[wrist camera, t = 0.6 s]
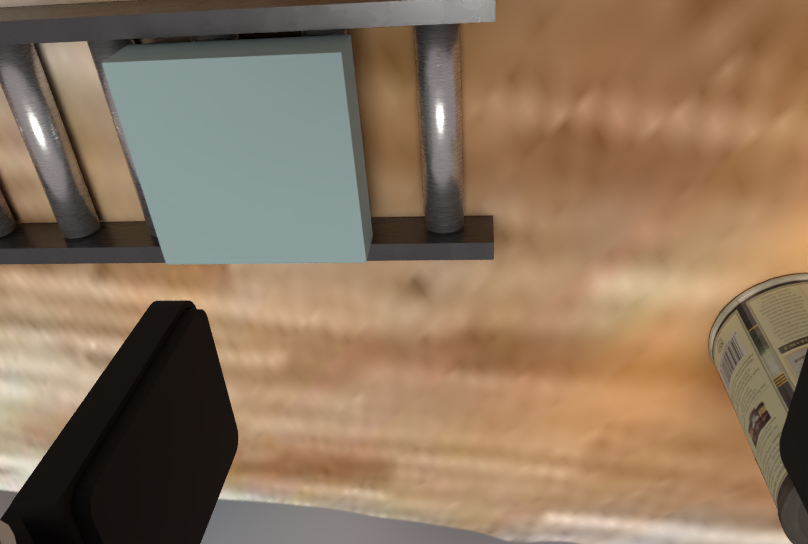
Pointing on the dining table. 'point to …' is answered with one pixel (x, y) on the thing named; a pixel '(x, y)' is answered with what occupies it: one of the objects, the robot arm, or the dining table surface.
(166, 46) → the slab
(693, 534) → the dining table surface
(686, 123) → the dining table surface
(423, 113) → the roller track
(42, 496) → the robot arm
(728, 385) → the coffee can
